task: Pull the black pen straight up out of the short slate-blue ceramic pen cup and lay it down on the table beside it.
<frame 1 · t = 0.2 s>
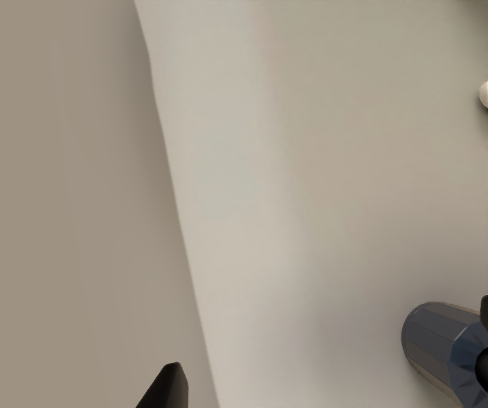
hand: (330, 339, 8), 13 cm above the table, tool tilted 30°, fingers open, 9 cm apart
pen: (445, 343, 19), resting on pen cup
pen cup: (440, 340, 19), on the table
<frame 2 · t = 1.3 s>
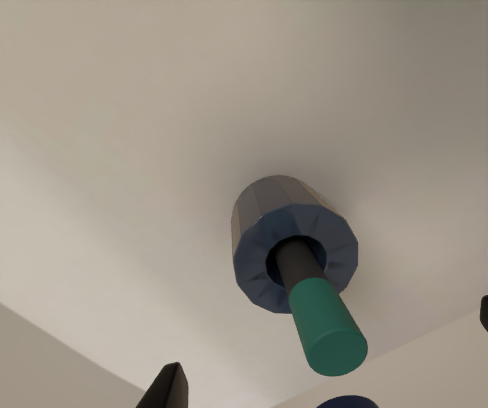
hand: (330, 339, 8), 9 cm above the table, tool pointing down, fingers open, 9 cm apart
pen: (277, 222, 16), resting on pen cup
pen cup: (276, 218, 16), on the table
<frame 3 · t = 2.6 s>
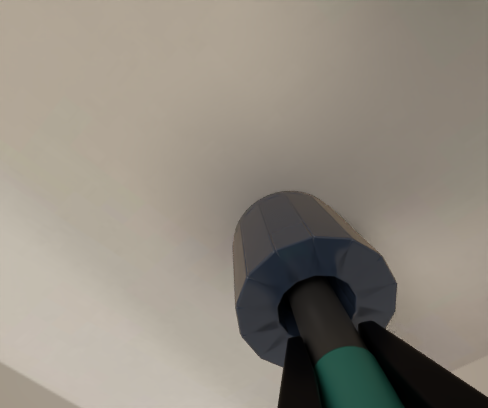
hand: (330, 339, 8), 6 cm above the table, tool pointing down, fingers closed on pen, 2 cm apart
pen: (288, 246, 13), point 1 cm above the table, touching gripper, pen cup
pen cup: (286, 241, 14), on the table
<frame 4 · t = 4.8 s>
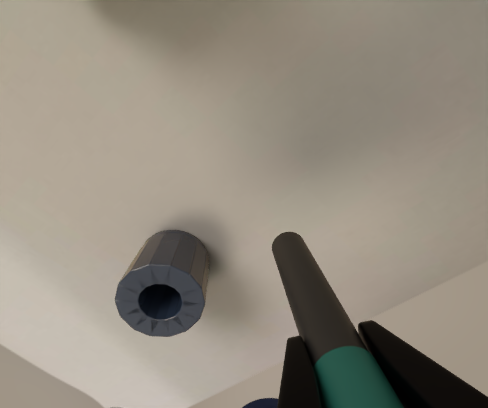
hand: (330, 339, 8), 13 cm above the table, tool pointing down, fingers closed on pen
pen: (287, 246, 13), point 7 cm above the table, touching gripper
pen cup: (174, 260, 22), on the table
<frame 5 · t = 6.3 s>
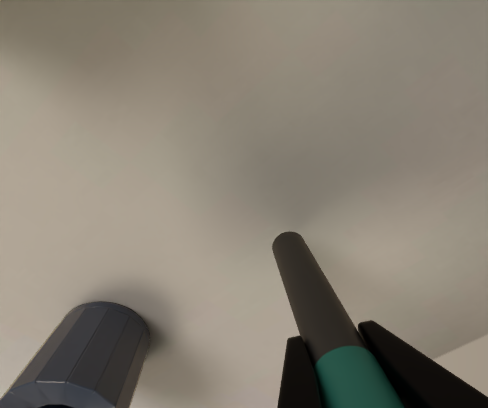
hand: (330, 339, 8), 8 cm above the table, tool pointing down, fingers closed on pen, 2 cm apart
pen: (288, 246, 13), point 2 cm above the table, touching gripper
pen cup: (105, 337, 17), on the table
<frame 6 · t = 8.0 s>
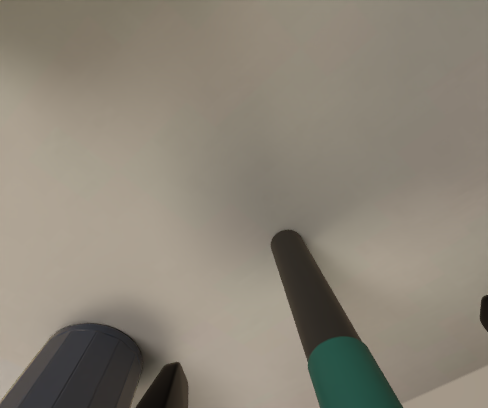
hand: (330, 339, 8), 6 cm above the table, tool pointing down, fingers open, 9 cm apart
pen: (286, 243, 14), on the table
pen cup: (94, 360, 15), on the table
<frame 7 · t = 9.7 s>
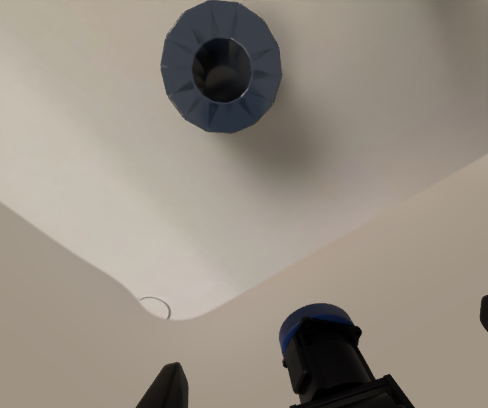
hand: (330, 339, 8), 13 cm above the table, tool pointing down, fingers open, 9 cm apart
pen cup: (222, 80, 17), on the table
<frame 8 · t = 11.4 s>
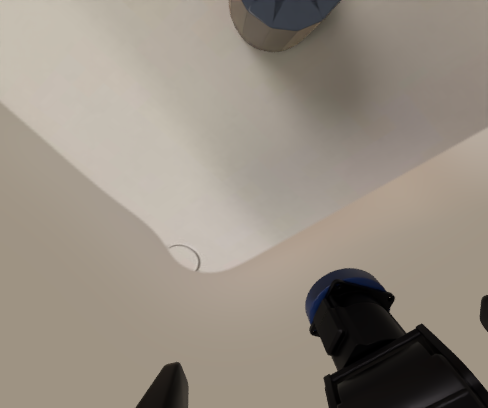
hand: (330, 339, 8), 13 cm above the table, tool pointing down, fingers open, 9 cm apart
pen cup: (273, 1, 16), on the table
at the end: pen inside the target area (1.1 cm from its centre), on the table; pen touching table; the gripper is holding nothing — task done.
